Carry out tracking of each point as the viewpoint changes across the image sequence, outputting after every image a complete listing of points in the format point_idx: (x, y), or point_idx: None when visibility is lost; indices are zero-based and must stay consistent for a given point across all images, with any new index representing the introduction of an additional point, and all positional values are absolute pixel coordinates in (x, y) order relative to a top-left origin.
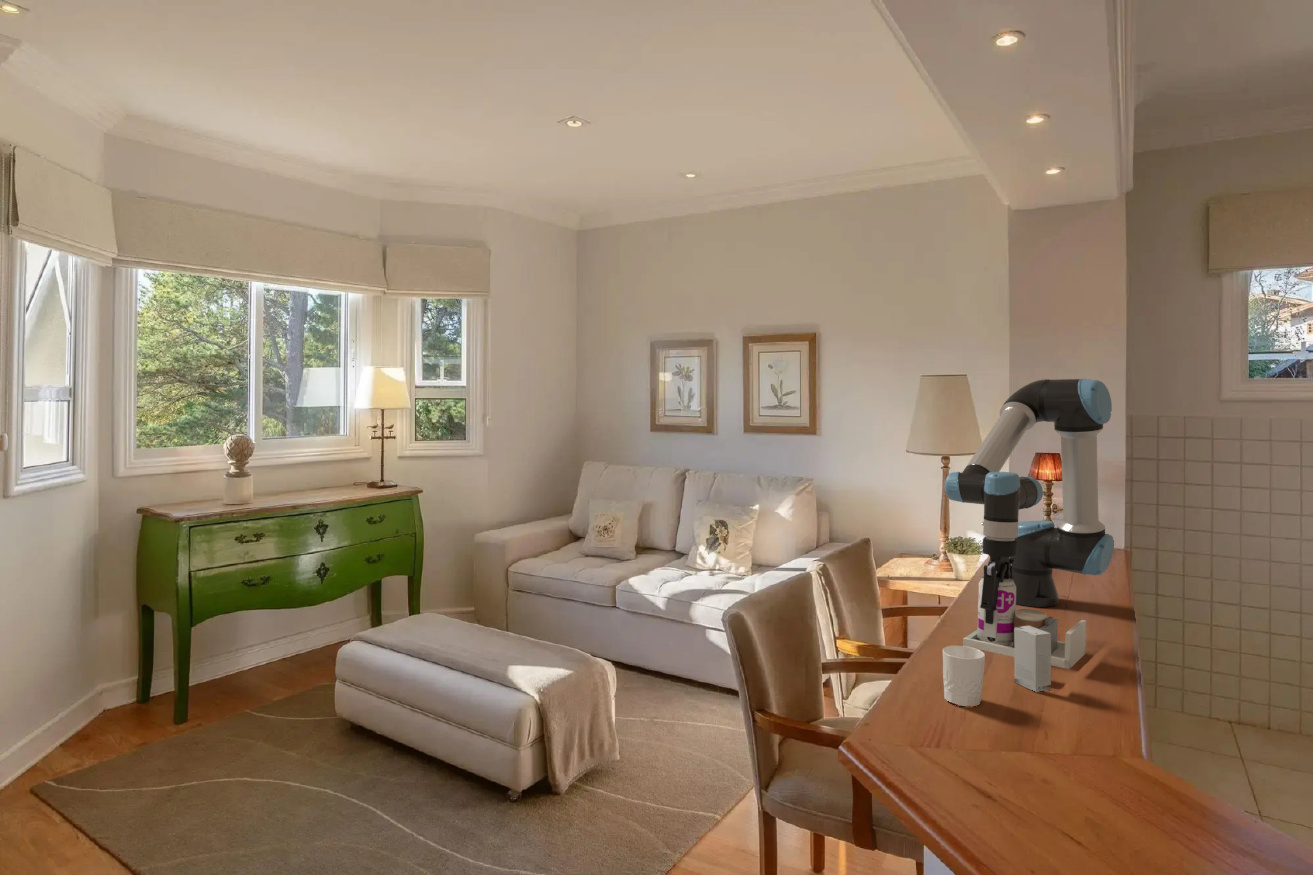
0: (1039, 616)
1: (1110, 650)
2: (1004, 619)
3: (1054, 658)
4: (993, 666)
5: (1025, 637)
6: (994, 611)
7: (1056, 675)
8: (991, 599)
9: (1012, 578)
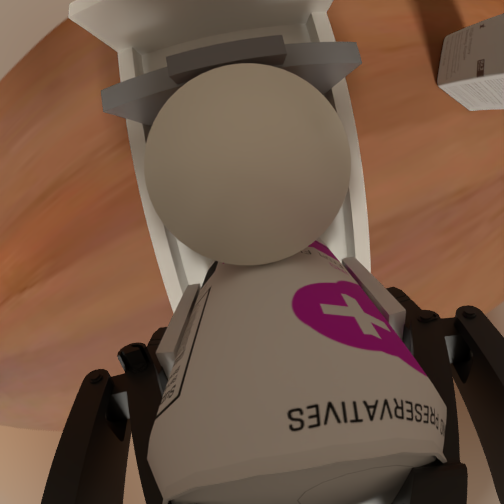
0: (278, 84)
1: (28, 77)
2: (343, 268)
3: (333, 39)
4: (417, 195)
5: None
6: (402, 316)
7: (348, 41)
8: (498, 339)
9: (71, 464)
